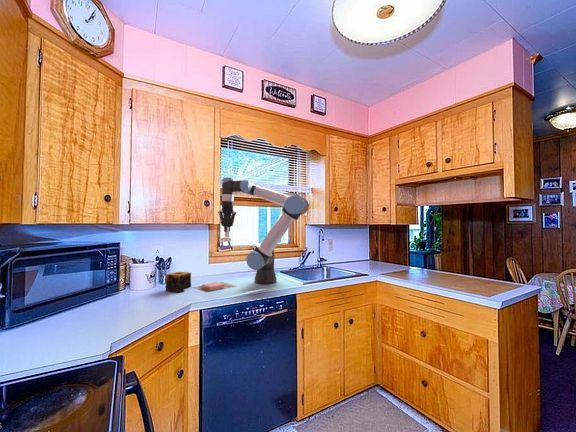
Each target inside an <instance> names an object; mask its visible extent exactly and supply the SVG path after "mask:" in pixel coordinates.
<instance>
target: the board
mask: <svg viewBox="0 0 576 432" xmlns="http://www.w3.org/2000/svg"><path fill="white" fill-rule="evenodd" d="M219 283H221V284H224V288H222V289H217V290H212V291H210V290H207V289H204V288H202V285H199V286H193V287H192V286H191V287H192V288H193V289H196V290H198V291H201V292H204V293H206V294H207V293H212V292H216V291H221V290H225V289H230V288H237V285H235V284H232V283H228V282H224V281H220V282H219Z"/></svg>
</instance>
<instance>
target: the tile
mask: <svg viewBox="0 0 576 432" xmlns="http://www.w3.org/2000/svg"><path fill="white" fill-rule="evenodd" d="M201 286H202V288H204V289H207V290H210V291H212V290H217V289H222V288H224V284H221V283H220V282H218V281H215V282H209V283H203V284H202V285H201ZM222 290H223V289H222ZM217 291H218V290H217ZM212 292H213V291H212Z"/></svg>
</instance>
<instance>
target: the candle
mask: <svg viewBox="0 0 576 432" xmlns="http://www.w3.org/2000/svg"><path fill="white" fill-rule="evenodd" d="M165 276H166V279H165V281H166V282H165V292H168V293H169V292H170V293H174V294H175V293H176V294H181V293H183V292H185V290H186V289H189V288H191V287H192V272H187V271H173V272H170V273H165Z"/></svg>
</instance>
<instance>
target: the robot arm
mask: <svg viewBox="0 0 576 432" xmlns="http://www.w3.org/2000/svg"><path fill="white" fill-rule="evenodd" d="M234 193H244V194H247V195H250V196H253V197H257V198H259V199H262V200H265V201H267V202H271V203H273V204H276V205H278V206H281V207H282V208H281V213H280V216H279V217H278V218H277V220H276V221H275V222H274V224H273V225H272V227H271V229H270V230H269V231H268V233H267V234H266V236H265V237H264V239H263V240H262V241H261V243H259V244H257V245H255V247H254V249H253V250H252V251H250V252H249V253H248V254H247V256H246V257H245V258H246V259H245V260H246V264H247V266H248V268H249V269H251V270H253V271H255V272H256V273H255V275H254V276H255V277H254V278H253V280H254V283H256V284H263V285H266V284H274V283H277V280H278V279H277V276H276V275H277V274H276V272H275V249H276V247H277V245H278V244H279V242H280V241H281V239H282V238H283V237H284V235H285V234H286V232H287V231H288V229H290V227H291V225H292V224H293V222H296V221H298V219H299V218H300V217H301V215H305V214H306V213H307V212H308V210H309V208H310V207H309V205H310V204H309V202H308V199H306V198H305V197H303V196H301V195H299V194H291V195H286V194H284V193H280V192H279V191H278V192H277V191H275V190H272V189H269V188H265V187H262V186H259V185H256V184H254V183H252V182H251V181H250V180H249V179H243V180H240V179H239V180H235V179H234V177H227V176H226V177H222V180H221V208H220V209H221V210H218V212H217V213H218V215H219V221H220V224H221V226H222V227H223V231H224V238H229V237H230V233H231V227H232V226H234V221H235V216H236V214H237V212H236V211H234V208H233V207H234Z"/></svg>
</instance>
